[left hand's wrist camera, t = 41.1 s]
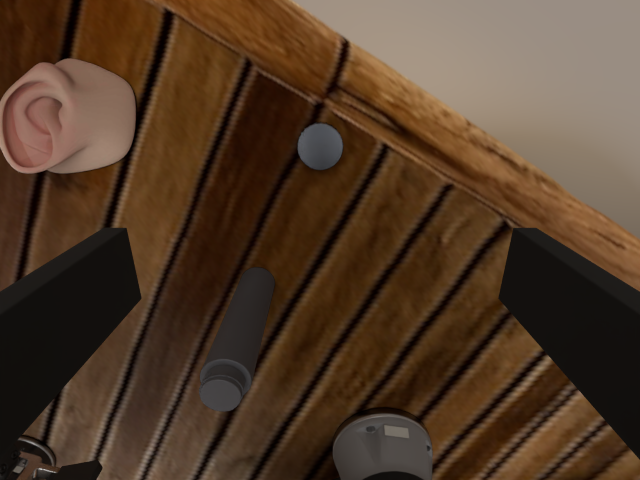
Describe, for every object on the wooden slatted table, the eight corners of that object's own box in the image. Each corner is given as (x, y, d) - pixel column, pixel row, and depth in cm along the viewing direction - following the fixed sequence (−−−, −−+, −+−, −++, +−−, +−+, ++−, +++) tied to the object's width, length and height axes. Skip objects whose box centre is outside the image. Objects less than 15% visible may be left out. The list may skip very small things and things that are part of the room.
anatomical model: (105, 52, 33) (133, 177, 37) (126, 56, 36) (150, 170, 41) (-39, 57, 33) (5, 181, 37) (-3, 61, 37) (34, 173, 41)
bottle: (234, 274, 46) (182, 384, 28) (265, 262, 45) (231, 367, 28) (250, 301, 47) (209, 422, 30) (280, 290, 47) (256, 407, 29)
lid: (332, 173, 41) (332, 177, 39) (291, 157, 40) (290, 160, 38) (349, 132, 39) (351, 134, 37) (307, 114, 39) (307, 115, 37)
